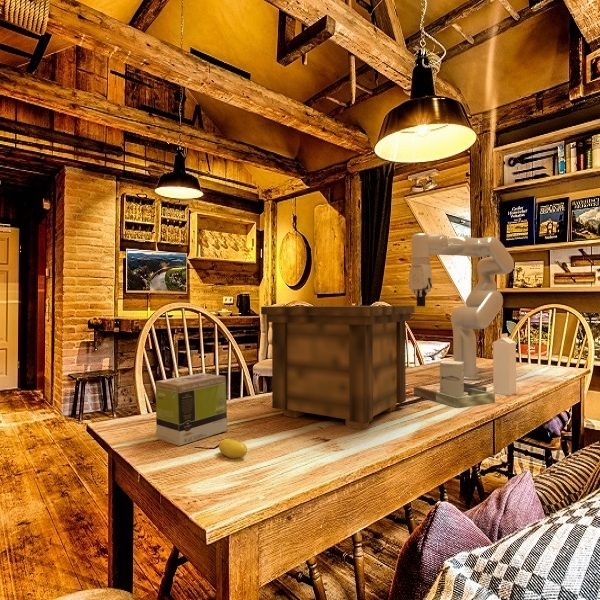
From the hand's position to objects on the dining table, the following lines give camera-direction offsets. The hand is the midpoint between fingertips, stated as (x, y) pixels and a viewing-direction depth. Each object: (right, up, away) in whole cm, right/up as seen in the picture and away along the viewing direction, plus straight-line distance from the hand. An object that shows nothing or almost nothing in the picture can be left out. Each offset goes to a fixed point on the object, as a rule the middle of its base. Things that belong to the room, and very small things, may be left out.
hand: (421, 306), depth 177 cm
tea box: (-79, -32, -70) cm, 110 cm away
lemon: (-66, -32, -85) cm, 112 cm away
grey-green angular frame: (+5, -32, -29) cm, 44 cm away
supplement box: (+3, -32, -29) cm, 43 cm away
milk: (+25, -32, -22) cm, 46 cm away
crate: (-38, -32, -47) cm, 69 cm away
